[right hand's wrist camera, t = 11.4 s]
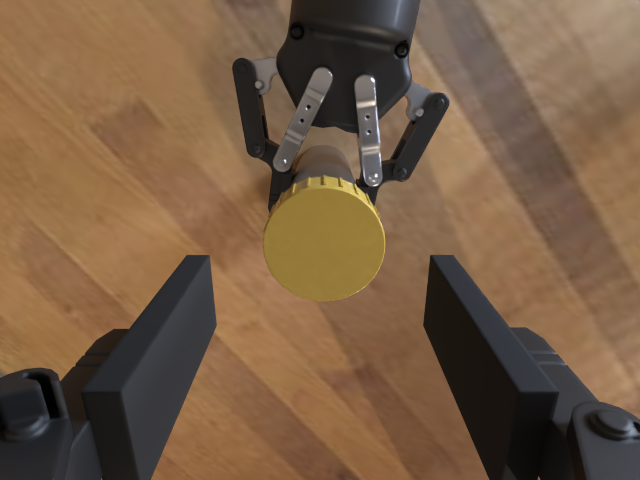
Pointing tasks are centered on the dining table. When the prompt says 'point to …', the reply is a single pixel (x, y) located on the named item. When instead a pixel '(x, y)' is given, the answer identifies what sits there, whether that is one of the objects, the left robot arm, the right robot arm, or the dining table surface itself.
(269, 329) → the dining table surface
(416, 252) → the dining table surface
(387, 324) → the dining table surface
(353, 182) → the jar
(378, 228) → the lid
